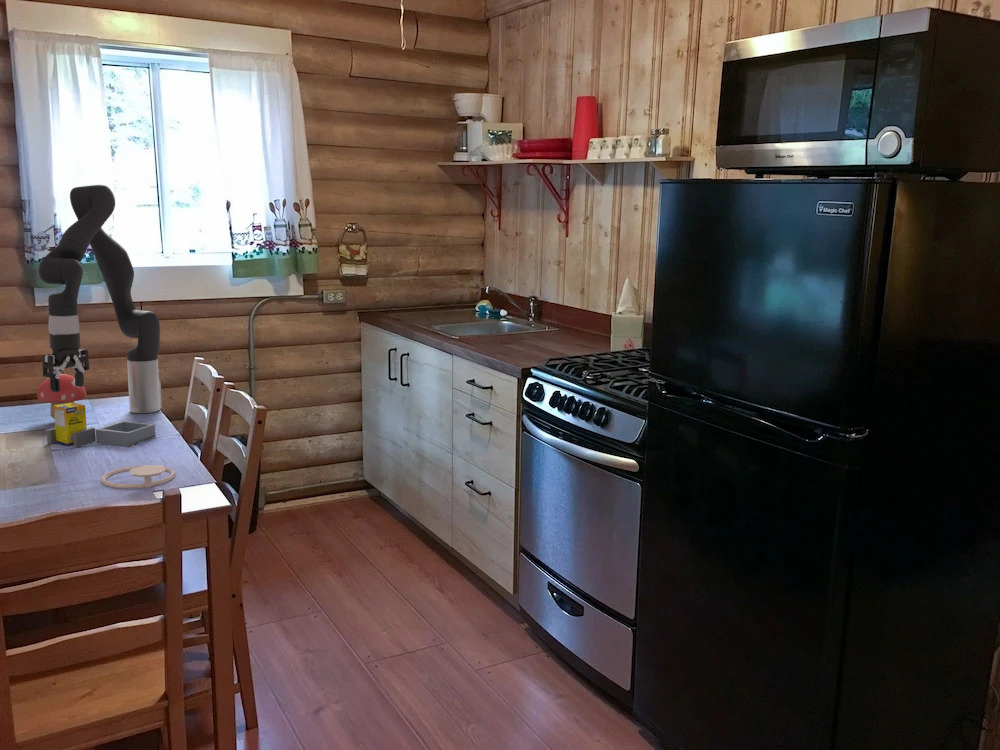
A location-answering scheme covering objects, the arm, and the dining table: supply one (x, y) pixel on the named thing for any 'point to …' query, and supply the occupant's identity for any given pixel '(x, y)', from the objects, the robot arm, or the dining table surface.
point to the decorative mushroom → (61, 392)
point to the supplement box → (68, 421)
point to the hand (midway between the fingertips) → (67, 389)
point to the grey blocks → (75, 437)
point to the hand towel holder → (140, 471)
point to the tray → (125, 433)
